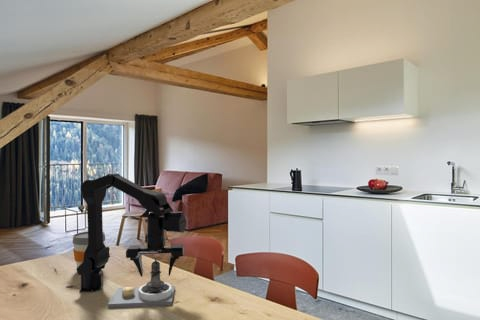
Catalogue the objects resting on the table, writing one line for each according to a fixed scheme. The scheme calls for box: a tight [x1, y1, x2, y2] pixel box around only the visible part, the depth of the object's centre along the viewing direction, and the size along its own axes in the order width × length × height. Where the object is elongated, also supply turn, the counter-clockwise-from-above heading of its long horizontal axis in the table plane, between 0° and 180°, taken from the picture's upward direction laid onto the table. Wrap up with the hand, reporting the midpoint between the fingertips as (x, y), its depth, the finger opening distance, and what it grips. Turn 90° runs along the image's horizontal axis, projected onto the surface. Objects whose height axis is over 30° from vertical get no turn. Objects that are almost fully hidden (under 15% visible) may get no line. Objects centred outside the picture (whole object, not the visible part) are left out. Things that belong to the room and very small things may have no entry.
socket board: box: [107, 281, 176, 309], centre depth 115 cm, size 20×13×3 cm, turn 97°
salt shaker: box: [146, 258, 165, 294], centre depth 116 cm, size 6×6×12 cm
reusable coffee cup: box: [72, 231, 106, 269], centre depth 142 cm, size 13×13×15 cm
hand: (155, 275), depth 116 cm, fingers open, 9 cm apart
